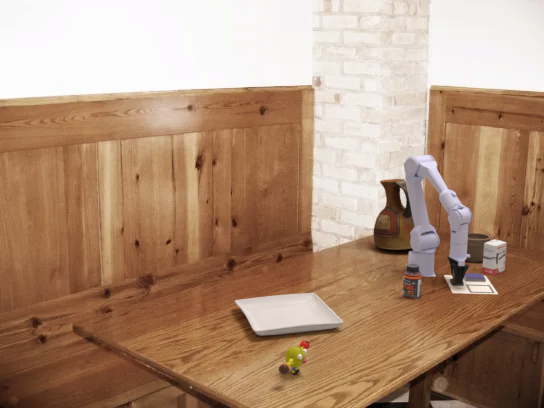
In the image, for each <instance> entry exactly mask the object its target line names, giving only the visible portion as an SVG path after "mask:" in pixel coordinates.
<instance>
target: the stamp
mask: <svg viewBox="0 0 544 408" xmlns="http://www.w3.org/2000/svg"><path fill="white" fill-rule="evenodd" d="M450 283H451V285H452V286H464V282H462V284H456V282H455V275H454V270H453V279H450Z"/></svg>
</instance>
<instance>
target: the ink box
mask: <svg viewBox="0 0 544 408" xmlns="http://www.w3.org/2000/svg"><path fill="white" fill-rule="evenodd" d="M506 255H507V242H506V241H503V240H500V239H491V240H490V241H489V242H486V243H484V254H483V261H482V266H481V267H482V268H481V274H482V273H483V274H487V275H491V276H495V275H498V274H500V273H502V272H504V271H505V270H506V269H505V268H506V258H507V257H506Z"/></svg>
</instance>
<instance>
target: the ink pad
mask: <svg viewBox="0 0 544 408" xmlns="http://www.w3.org/2000/svg"><path fill="white" fill-rule="evenodd" d="M484 276H485V275H484V273H483V274H482V273H476V272H475V273H472V272H471V273H470V272H469V273H468V272H466V273H465V275H464V280H465V281H467V282H486V279H485V277H484Z"/></svg>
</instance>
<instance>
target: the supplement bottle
mask: <svg viewBox="0 0 544 408" xmlns="http://www.w3.org/2000/svg"><path fill="white" fill-rule="evenodd" d="M402 278H403V279H402V282H403V283H402V297H403V298H405V299H408V300H418V299H420V298H421V297H422V296H421V295H422V278H423V276H422V273H421V272H420V271H419V265H417V264H408V263H407V264H406V270H405V271H404V272H403V277H402Z"/></svg>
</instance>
